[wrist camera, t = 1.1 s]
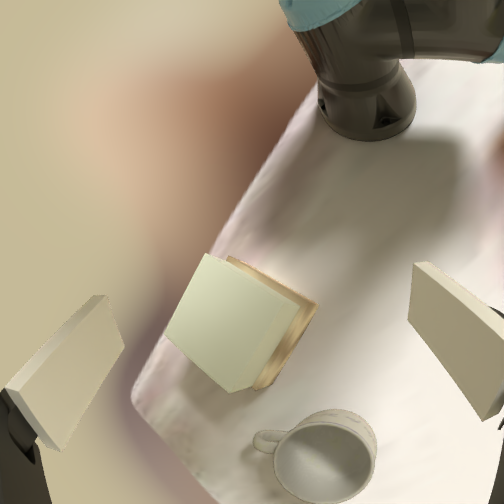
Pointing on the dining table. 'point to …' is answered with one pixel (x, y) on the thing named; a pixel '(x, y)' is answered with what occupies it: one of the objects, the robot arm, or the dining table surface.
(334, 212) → the dining table surface
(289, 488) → the teacup
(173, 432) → the dining table surface
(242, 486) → the dining table surface
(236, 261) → the tower base
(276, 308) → the tower top
